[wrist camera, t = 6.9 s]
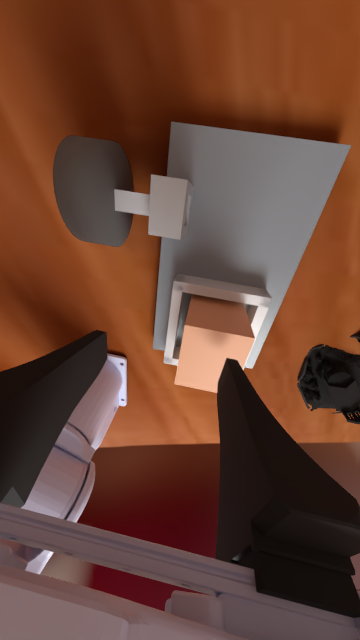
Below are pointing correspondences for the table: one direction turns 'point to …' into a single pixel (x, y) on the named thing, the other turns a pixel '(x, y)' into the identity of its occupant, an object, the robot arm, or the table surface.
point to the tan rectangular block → (212, 341)
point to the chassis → (234, 222)
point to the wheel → (96, 190)
